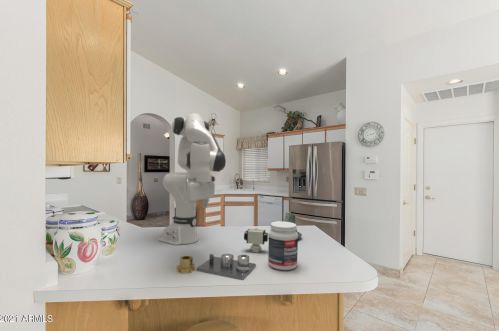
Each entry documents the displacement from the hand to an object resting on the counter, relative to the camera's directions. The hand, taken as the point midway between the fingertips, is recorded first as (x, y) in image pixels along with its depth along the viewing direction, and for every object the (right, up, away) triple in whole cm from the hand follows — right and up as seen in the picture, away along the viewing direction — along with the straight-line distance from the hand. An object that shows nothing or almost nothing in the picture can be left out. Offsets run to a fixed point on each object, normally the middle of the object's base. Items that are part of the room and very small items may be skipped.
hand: (199, 209), depth 111 cm
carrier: (+12, -25, -3) cm, 28 cm away
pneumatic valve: (+25, -25, +19) cm, 40 cm away
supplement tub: (+37, -25, +1) cm, 44 cm away
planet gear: (-5, -24, -5) cm, 25 cm away
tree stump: (+43, -25, +42) cm, 65 cm away
